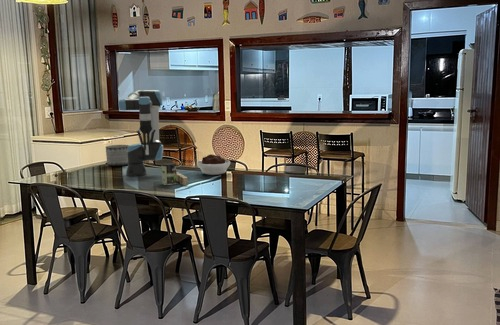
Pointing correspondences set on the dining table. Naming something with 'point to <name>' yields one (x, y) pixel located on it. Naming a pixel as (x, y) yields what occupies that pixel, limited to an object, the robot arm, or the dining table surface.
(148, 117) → the robot arm
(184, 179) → the board
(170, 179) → the coffee can
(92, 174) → the dining table surface
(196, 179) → the dining table surface
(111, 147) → the planter
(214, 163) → the bowl of brown food
